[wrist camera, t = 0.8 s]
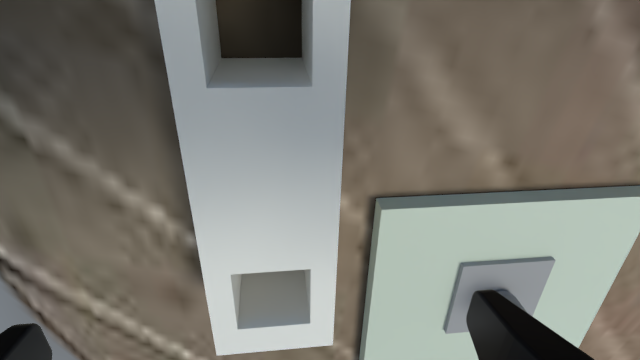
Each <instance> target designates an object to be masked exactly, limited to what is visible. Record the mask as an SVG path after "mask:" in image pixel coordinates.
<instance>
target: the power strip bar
mask: <svg viewBox="0 0 640 360" xmlns="http://www.w3.org/2000/svg"><path fill="white" fill-rule="evenodd" d="M154 1H155V7H156V13H157V18H158V24H159V30H160V35H161V41H162V47H163V52H164V58H165V64H166V70H167V75H168V81H169V87H170V92H171V98H172V104H173V109H174V115H175V121H176V127H177V132H178V138H179V144H180V149H181V155H182V161H183V166H184V172H185V178H186V184H187V189H188V195H189V201H190V206H191V212H192V218H193V223H194V229H195V235H196V241H197V246H198V252H199V258H200V263H201V269H202V275H203V280H204V286H205V292H206V298H207V303H208V309H209V315H210V320H211V326H212V332H213V337H214V343H215V349H216V355H228V354H239V353H250V352H261V351H272V350H284V349H295V348H306V347H317V346H328V345H333V330H334V311H335V292H336V273H337V253H338V234H339V215H340V196H341V177H342V158H343V138H344V119H345V100H346V81H347V62H348V43H349V24H350V4H351V0H302V58H221V48H220V39H219V29H218V20H217V10H216V1H215V0H154Z"/></svg>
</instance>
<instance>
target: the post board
mask: <svg viewBox="0 0 640 360" xmlns="http://www.w3.org/2000/svg"><path fill="white" fill-rule="evenodd" d="M639 232H640V186H620V187H599V188H578V189H557V190H537V191H516V192H495V193H474V194H453V195H432V196H411V197H390V198H376V205H375V214H374V224H373V233H372V243H371V252H370V261H369V271H368V280H367V290H366V299H365V309H364V318H363V327H362V337H361V346H360V356H359V360H479V359H478V356H477V353H476V350H475V347H474V344H473V342H472V339H471V336H470V333H469V330H468V327H467V323H466V316H467V312H468V309H469V305H470V302H471V298H472V295H473V293H474V292H475V291H477V290H488V289H492V290H495V291H497V292H498V293H500V294H501V295H503V296H504V297H505V298H507V299H508V300H510V301H511V302H513V303H514V304H516V305H517V306H518V307H520V308H521V309H523V310H524V311H526V312H527V313H528V314H530V315H531V316H533V317H534V318H536V319H537V320H538V321H540V322H541V323H543V324H544V325H546V326H547V327H548V328H550V329H551V330H553V331H554V332H556V333H557V334H559V335H560V336H561V337H563V338H564V339H566V340H567V341H569V342H570V343H571V344H573V345H574V346H576V347H577V348H578V347H579V346H580V344H581V342H582V340H583V338H584V336H585V334H586V332H587V330H588V329H589V327H590V325H591V323H592V321H593V319H594V317H595V315H596V313H597V312H598V310H599V308H600V306H601V304H602V302H603V300H604V298H605V296H606V295H607V293H608V291H609V289H610V287H611V285H612V283H613V281H614V279H615V278H616V276H617V274H618V272H619V270H620V268H621V266H622V264H623V262H624V261H625V259H626V257H627V255H628V253H629V251H630V249H631V247H632V245H633V244H634V242H635V240H636V238H637V236H638V234H639Z"/></svg>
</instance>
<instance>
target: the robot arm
mask: <svg viewBox="0 0 640 360" xmlns="http://www.w3.org/2000/svg"><path fill="white" fill-rule="evenodd" d="M466 323H467V327H468V330H469V333H470V336H471V339H472V342H473V344H474V347H475V350H476V353H477V356H478V359H479V360H594V359H593V358H591V357H590V356H589V355H587V354H586V353H584V352H583V351H581V350H580V349H579V348H577V347H576V346H574V345H573V344H571V343H570V342H569V341H567V340H566V339H564V338H563V337H561V336H560V335H559V334H557V333H556V332H554V331H553V330H551V329H550V328H548V327H547V326H546V325H544V324H543V323H541V322H540V321H538V320H537V319H536V318H534V317H533V316H531V315H530V314H528V313H527V312H526V311H524V310H523V309H521V308H520V307H518V306H517V305H516V304H514V303H513V302H511V301H510V300H508V299H507V298H505V297H504V296H503V295H501V294H500V293H498V292H497V291H495V290H492V289H488V290H477V291H475V292H474V293H473V295H472V298H471V302H470V305H469V309H468V312H467V316H466ZM0 360H52V350H51V348H50V346H49V344H48V342H47V340H46V337H45V335H44V333H43V331H42V329H41V328H40V326H39V325H37V324H34V323H32V324H19V325H14V326H11V327H10V328H8V329H7V330H5V331H4V332H2V333H1V334H0Z"/></svg>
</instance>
